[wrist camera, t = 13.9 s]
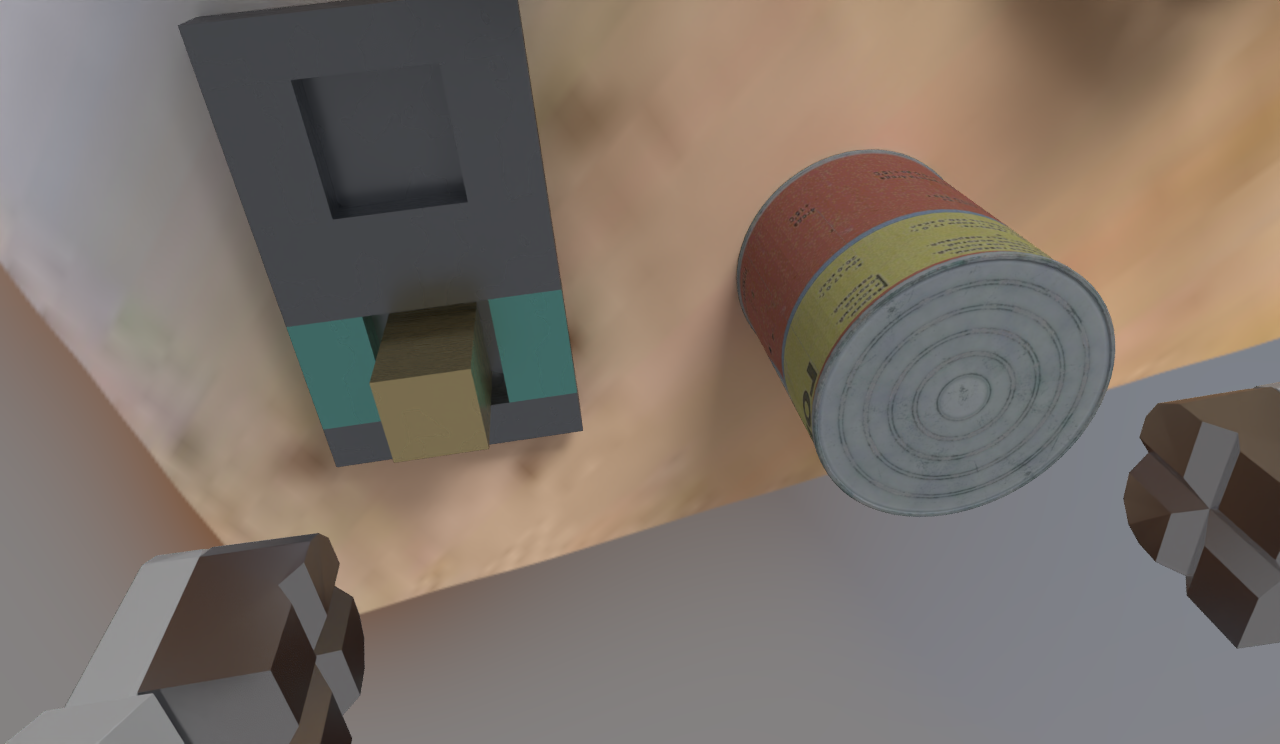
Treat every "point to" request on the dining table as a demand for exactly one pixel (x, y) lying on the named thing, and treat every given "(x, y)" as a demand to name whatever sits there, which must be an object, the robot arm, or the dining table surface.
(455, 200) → the peg hole board
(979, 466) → the canned food
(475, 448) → the brass peg
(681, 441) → the dining table surface
